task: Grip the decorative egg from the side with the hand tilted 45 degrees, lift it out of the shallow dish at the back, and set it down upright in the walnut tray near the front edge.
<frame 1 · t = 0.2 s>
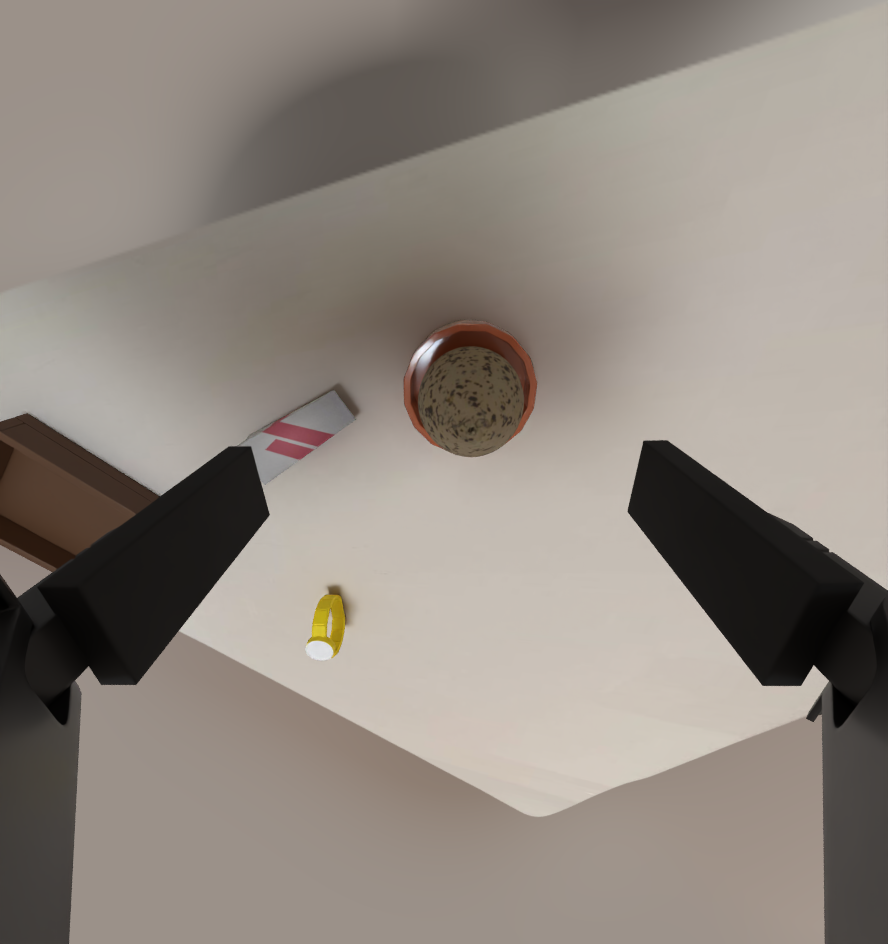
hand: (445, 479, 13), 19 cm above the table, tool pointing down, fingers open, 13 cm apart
watch: (337, 603, 42), on the table
tray: (91, 510, 37), on the table
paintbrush: (262, 453, 34), on the table
decorative egg: (468, 385, 30), resting on shallow dish
shallow dish: (468, 384, 30), on the table
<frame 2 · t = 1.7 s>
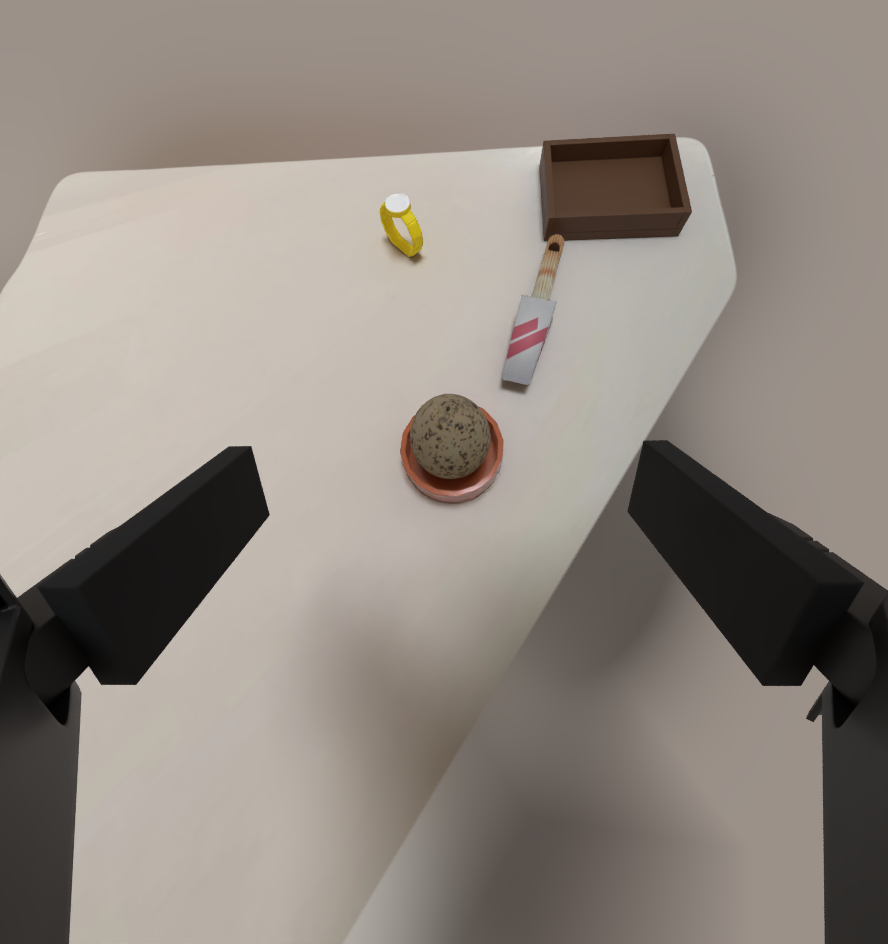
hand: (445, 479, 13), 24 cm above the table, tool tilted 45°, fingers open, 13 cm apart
watch: (405, 249, 47), on the table
tray: (605, 199, 47), on the table
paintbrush: (535, 315, 43), on the table
decorative egg: (452, 455, 38), resting on shallow dish
shallow dish: (452, 456, 38), on the table
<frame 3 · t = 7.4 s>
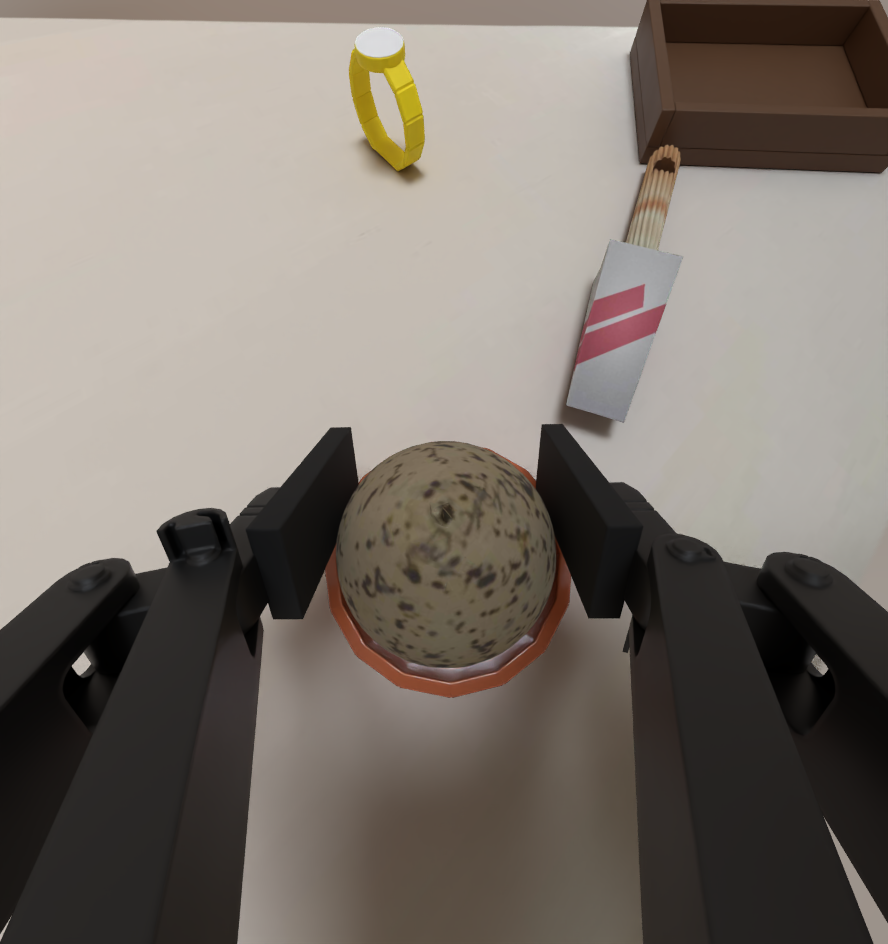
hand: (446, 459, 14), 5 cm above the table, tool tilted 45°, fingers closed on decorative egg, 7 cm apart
watch: (393, 161, 27), on the table
tray: (744, 108, 27), on the table
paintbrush: (624, 288, 23), on the table
decorative egg: (448, 562, 17), resting on shallow dish, touching gripper
shallow dish: (448, 563, 18), on the table
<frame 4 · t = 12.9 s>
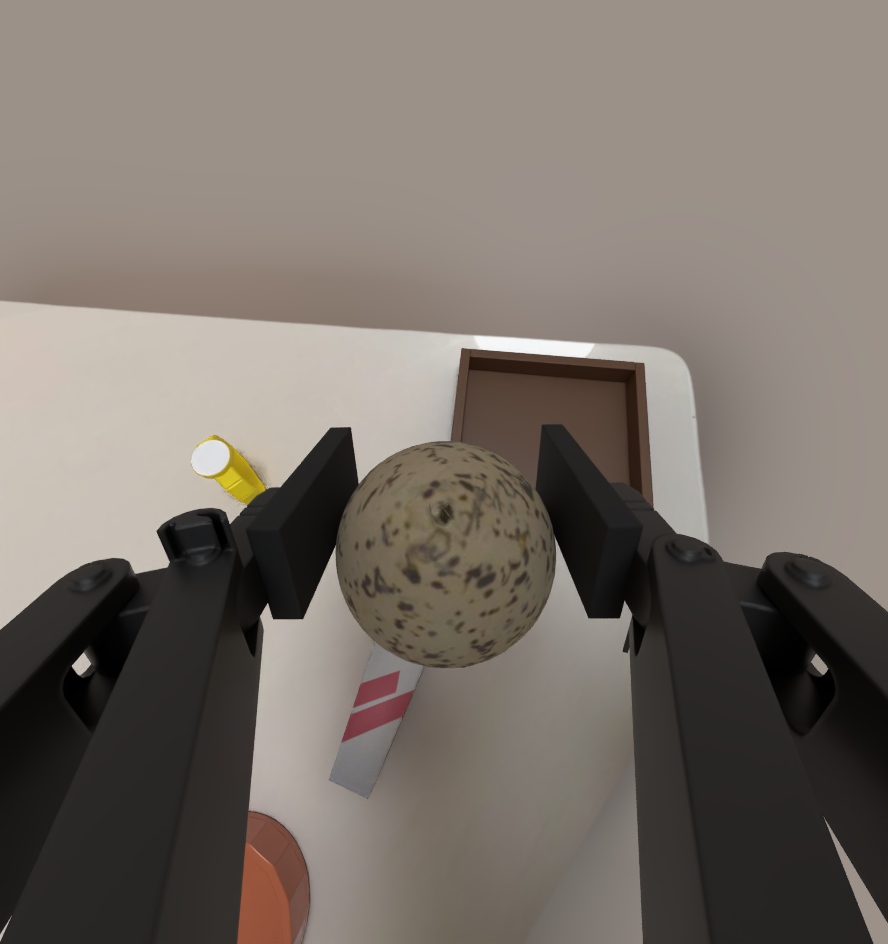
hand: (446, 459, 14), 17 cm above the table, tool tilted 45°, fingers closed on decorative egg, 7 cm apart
watch: (251, 481, 33), on the table
tray: (541, 436, 33), on the table
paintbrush: (411, 629, 29), on the table
decorative egg: (448, 562, 17), point 13 cm above the table, touching gripper
shallow dish: (233, 905, 24), on the table
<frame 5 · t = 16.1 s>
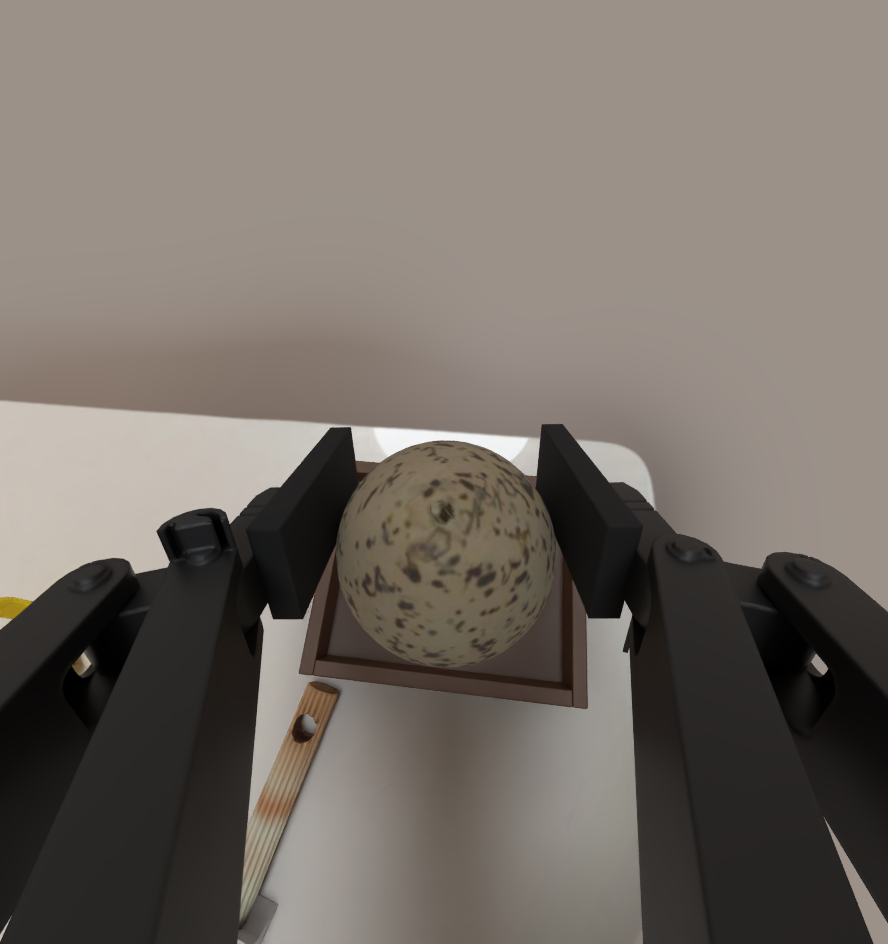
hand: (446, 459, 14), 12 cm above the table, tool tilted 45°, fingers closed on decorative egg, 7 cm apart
watch: (63, 640, 25), on the table
tray: (451, 573, 25), on the table
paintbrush: (250, 878, 20), on the table
decorative egg: (448, 562, 17), point 8 cm above the table, touching gripper
when the fingers open (5 cm above the table, at t = 18.5 s): decorative egg stays where it is, resting on tray.
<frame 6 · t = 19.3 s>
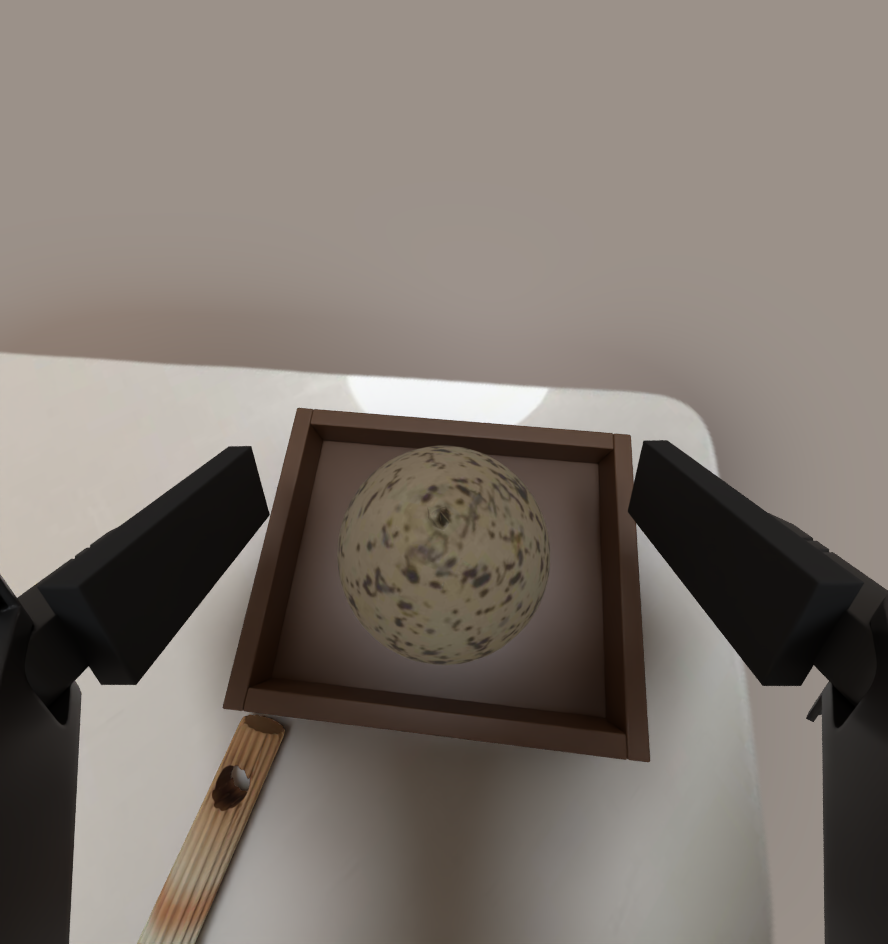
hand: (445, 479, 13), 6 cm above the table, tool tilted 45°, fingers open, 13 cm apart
tray: (447, 564, 18), on the table
decorative egg: (446, 562, 18), point 1 cm above the table, touching tray
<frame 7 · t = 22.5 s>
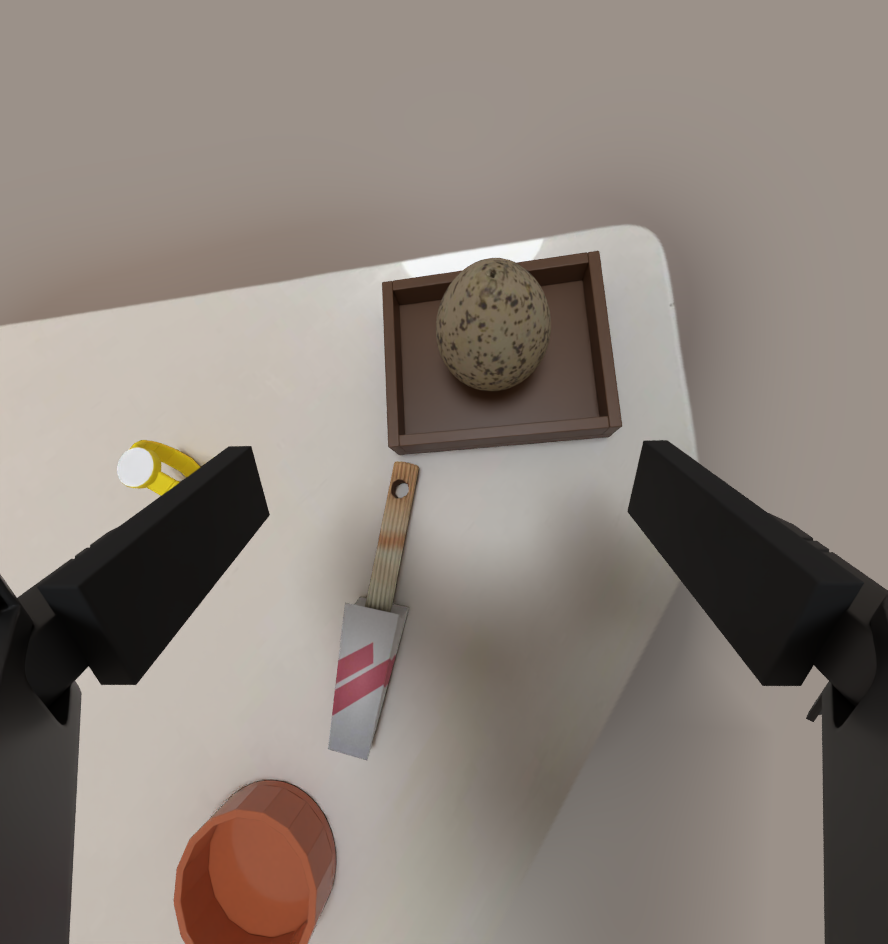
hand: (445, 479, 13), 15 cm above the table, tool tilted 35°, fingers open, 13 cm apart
watch: (202, 477, 32), on the table
tray: (493, 366, 29), on the table
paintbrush: (385, 597, 28), on the table
decorative egg: (493, 362, 28), point 1 cm above the table, touching tray
shallow dish: (271, 855, 27), on the table
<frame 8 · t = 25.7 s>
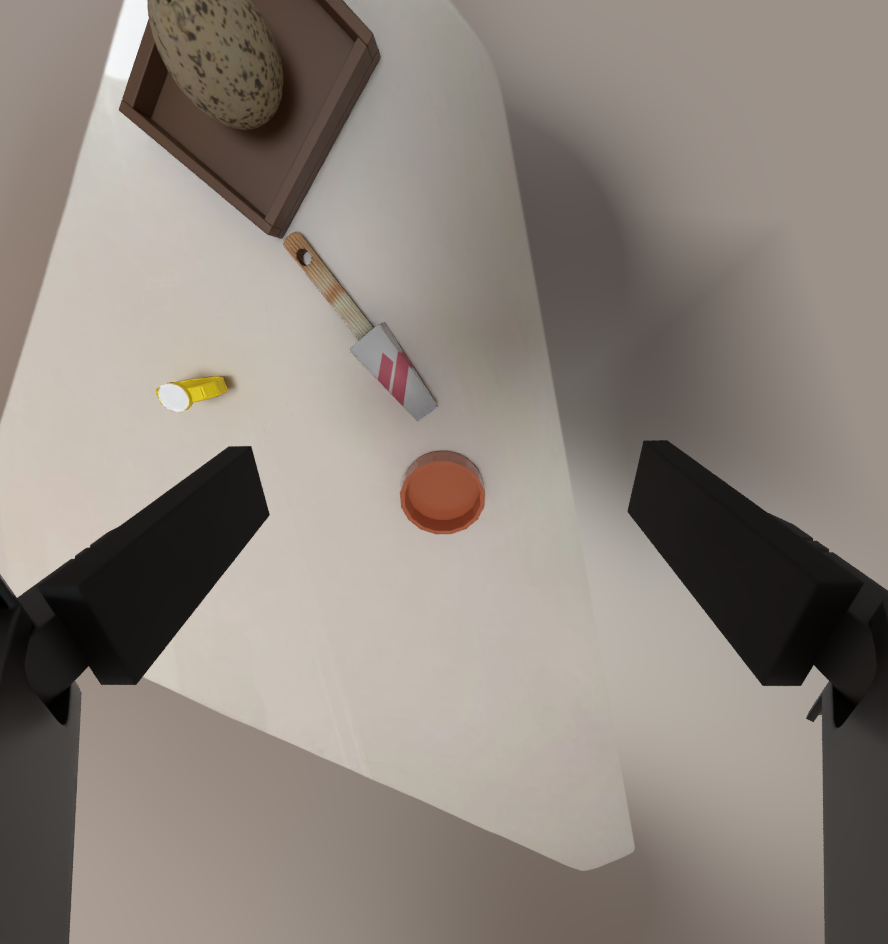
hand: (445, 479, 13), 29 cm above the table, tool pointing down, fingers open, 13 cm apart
watch: (209, 383, 41), on the table
tray: (259, 92, 30), on the table
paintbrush: (368, 331, 38), on the table
decorative egg: (254, 87, 29), point 1 cm above the table, touching tray
shallow dish: (443, 487, 46), on the table
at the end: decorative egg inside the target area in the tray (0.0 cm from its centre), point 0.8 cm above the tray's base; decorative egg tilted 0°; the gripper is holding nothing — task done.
